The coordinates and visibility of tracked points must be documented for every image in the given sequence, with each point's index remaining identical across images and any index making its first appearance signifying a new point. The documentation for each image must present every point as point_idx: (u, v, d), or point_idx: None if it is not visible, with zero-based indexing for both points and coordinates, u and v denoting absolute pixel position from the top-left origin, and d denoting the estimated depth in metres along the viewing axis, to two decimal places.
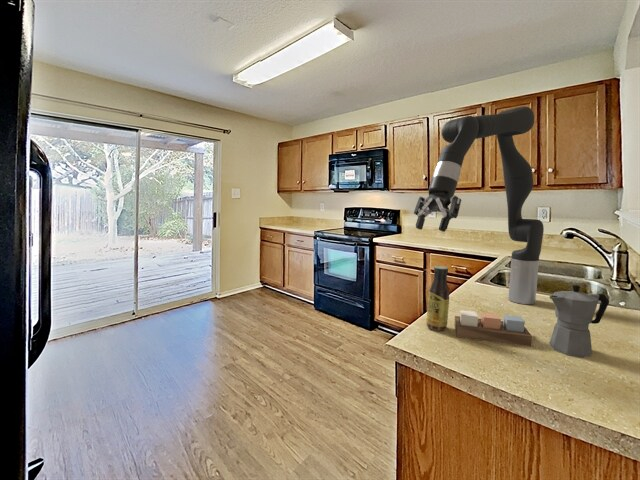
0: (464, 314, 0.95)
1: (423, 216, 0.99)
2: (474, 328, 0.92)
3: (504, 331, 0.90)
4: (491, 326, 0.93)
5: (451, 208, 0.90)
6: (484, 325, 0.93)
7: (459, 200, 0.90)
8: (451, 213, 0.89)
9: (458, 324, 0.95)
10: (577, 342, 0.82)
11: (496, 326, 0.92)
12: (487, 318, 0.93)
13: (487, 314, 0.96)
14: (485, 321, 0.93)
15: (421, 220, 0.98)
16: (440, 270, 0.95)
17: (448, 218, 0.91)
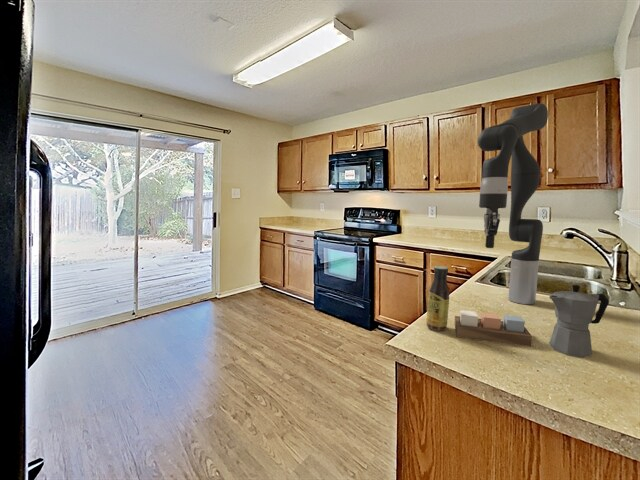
0: (464, 314, 0.95)
1: None
2: (474, 328, 0.92)
3: (504, 331, 0.90)
4: (491, 326, 0.93)
5: (488, 228, 0.97)
6: (484, 325, 0.93)
7: (496, 222, 0.94)
8: (487, 233, 0.97)
9: (458, 324, 0.95)
10: (577, 342, 0.82)
11: (496, 326, 0.92)
12: (487, 318, 0.93)
13: (487, 314, 0.96)
14: (485, 321, 0.93)
15: None
16: (440, 270, 0.96)
17: (490, 236, 0.98)
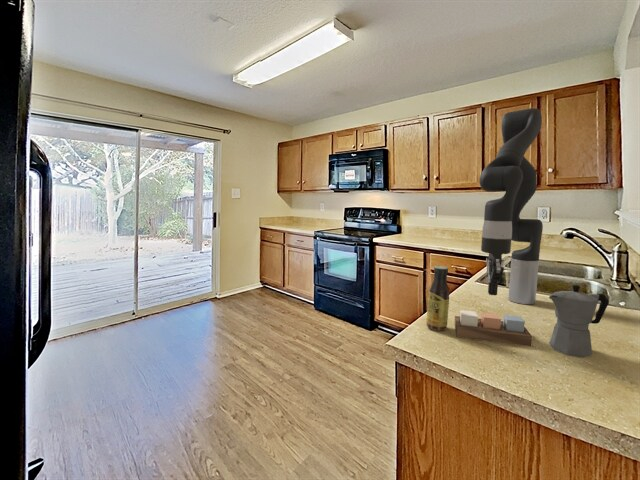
0: (464, 314, 0.95)
1: None
2: (474, 328, 0.92)
3: (504, 331, 0.90)
4: (491, 326, 0.93)
5: (491, 275, 0.90)
6: (484, 325, 0.93)
7: (500, 271, 0.87)
8: (490, 280, 0.91)
9: (458, 324, 0.95)
10: (577, 342, 0.82)
11: (496, 326, 0.92)
12: (487, 318, 0.93)
13: (487, 314, 0.96)
14: (485, 321, 0.93)
15: None
16: (440, 270, 0.96)
17: (493, 283, 0.92)
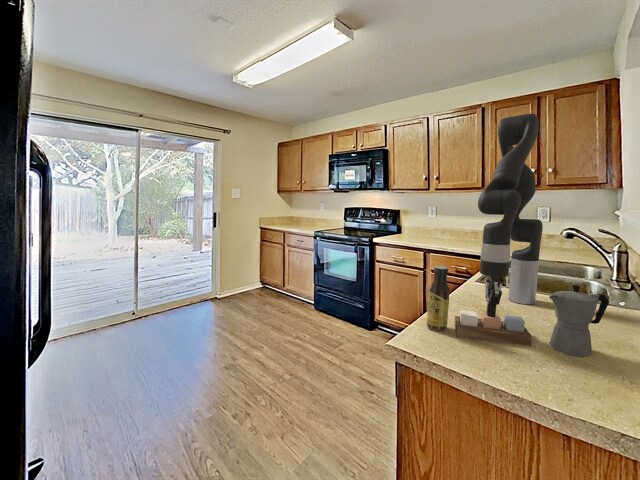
0: (464, 314, 0.95)
1: None
2: (474, 328, 0.92)
3: (504, 331, 0.90)
4: (491, 326, 0.93)
5: (489, 298, 0.91)
6: (484, 325, 0.93)
7: (498, 294, 0.88)
8: (489, 302, 0.92)
9: (458, 324, 0.95)
10: (577, 342, 0.82)
11: (496, 326, 0.92)
12: (487, 319, 0.93)
13: None
14: (485, 322, 0.93)
15: None
16: (440, 270, 0.96)
17: (492, 305, 0.92)
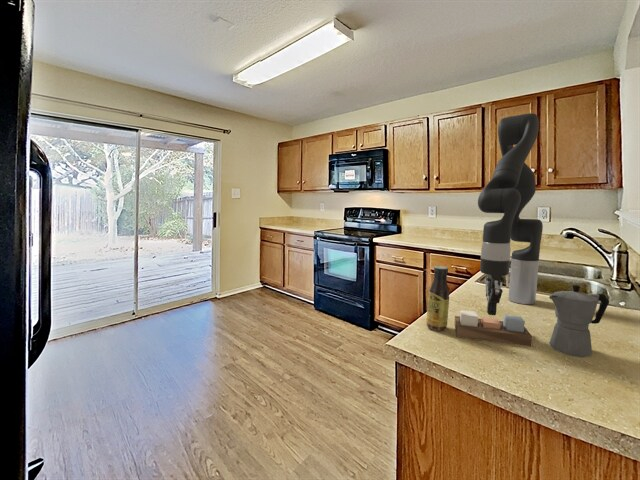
0: (464, 314, 0.95)
1: (493, 299, 0.94)
2: (474, 328, 0.92)
3: (504, 331, 0.90)
4: None
5: (490, 296, 0.91)
6: None
7: (498, 293, 0.88)
8: (489, 301, 0.92)
9: (458, 324, 0.95)
10: (577, 342, 0.82)
11: None
12: (487, 323, 0.93)
13: (487, 318, 0.96)
14: (485, 326, 0.93)
15: None
16: (440, 270, 0.96)
17: (492, 303, 0.93)
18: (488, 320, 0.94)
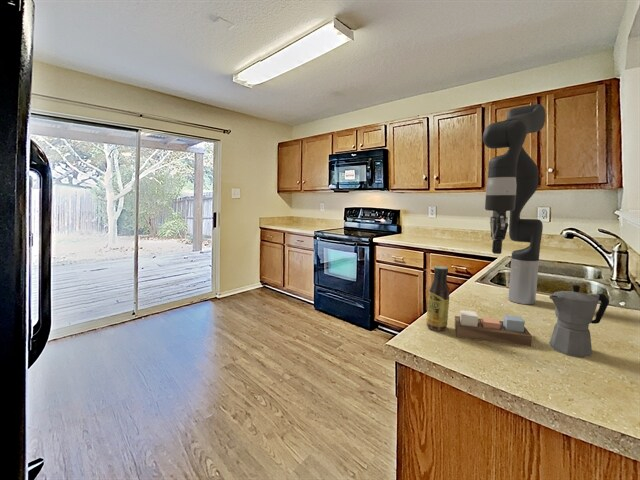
0: (464, 314, 0.95)
1: None
2: (474, 328, 0.92)
3: (504, 331, 0.90)
4: None
5: (495, 233, 0.89)
6: None
7: (504, 227, 0.86)
8: (494, 238, 0.90)
9: (458, 324, 0.95)
10: (577, 342, 0.82)
11: None
12: (487, 323, 0.93)
13: (487, 318, 0.96)
14: (485, 326, 0.93)
15: None
16: (440, 270, 0.96)
17: (497, 241, 0.91)
18: (488, 320, 0.94)
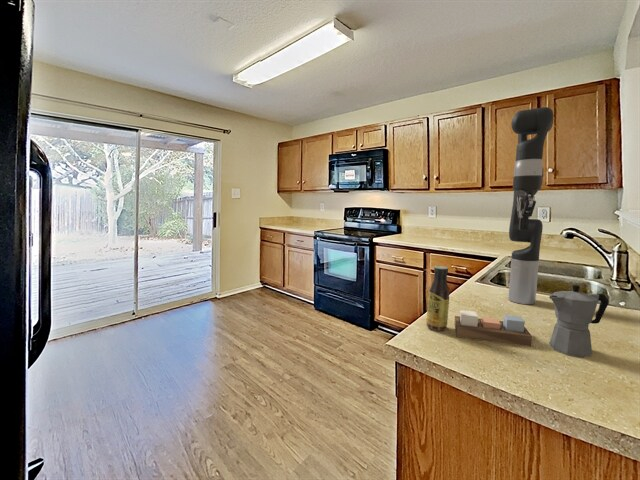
0: (464, 314, 0.95)
1: None
2: (474, 328, 0.92)
3: (504, 331, 0.90)
4: None
5: (523, 210, 0.98)
6: None
7: (532, 204, 0.95)
8: (522, 215, 0.98)
9: (458, 324, 0.95)
10: (577, 342, 0.82)
11: None
12: (487, 323, 0.93)
13: (487, 318, 0.96)
14: (485, 326, 0.93)
15: None
16: (440, 270, 0.96)
17: (524, 218, 0.99)
18: (488, 320, 0.94)
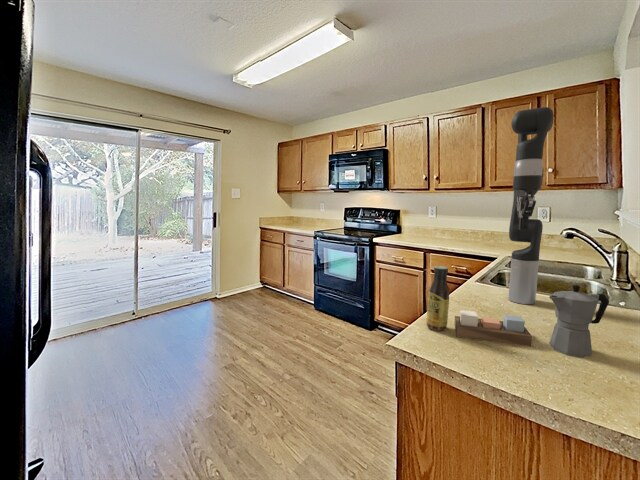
0: (464, 314, 0.95)
1: None
2: (474, 328, 0.92)
3: (504, 331, 0.90)
4: None
5: (523, 210, 0.98)
6: None
7: (532, 204, 0.95)
8: (522, 215, 0.98)
9: (458, 324, 0.95)
10: (577, 342, 0.82)
11: None
12: (487, 323, 0.93)
13: (487, 318, 0.96)
14: (485, 326, 0.93)
15: None
16: (440, 270, 0.96)
17: (524, 218, 0.99)
18: (488, 320, 0.94)
